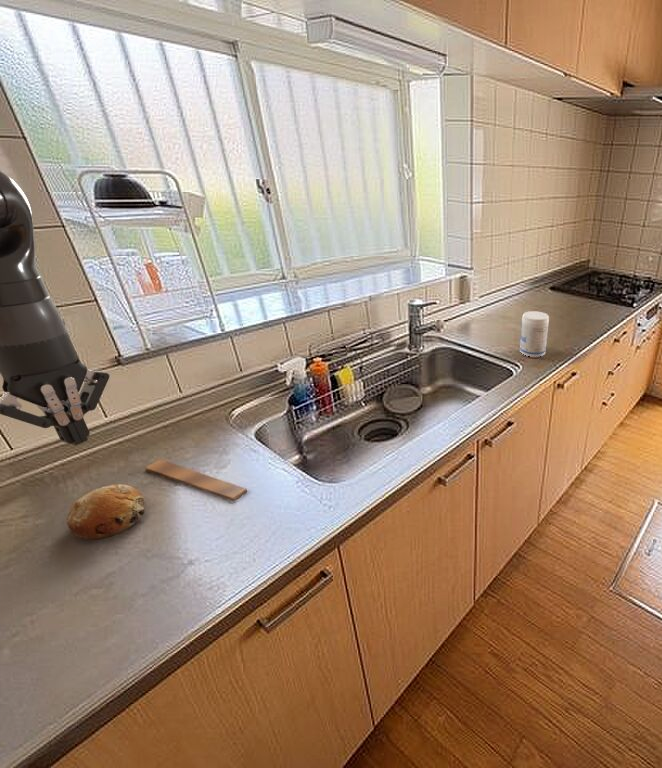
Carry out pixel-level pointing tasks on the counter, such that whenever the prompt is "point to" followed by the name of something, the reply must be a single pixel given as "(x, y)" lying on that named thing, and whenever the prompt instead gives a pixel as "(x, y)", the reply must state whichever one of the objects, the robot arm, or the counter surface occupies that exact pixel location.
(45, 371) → the robot arm
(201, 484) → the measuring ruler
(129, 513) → the bread roll
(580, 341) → the counter surface
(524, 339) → the supplement tub
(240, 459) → the counter surface
